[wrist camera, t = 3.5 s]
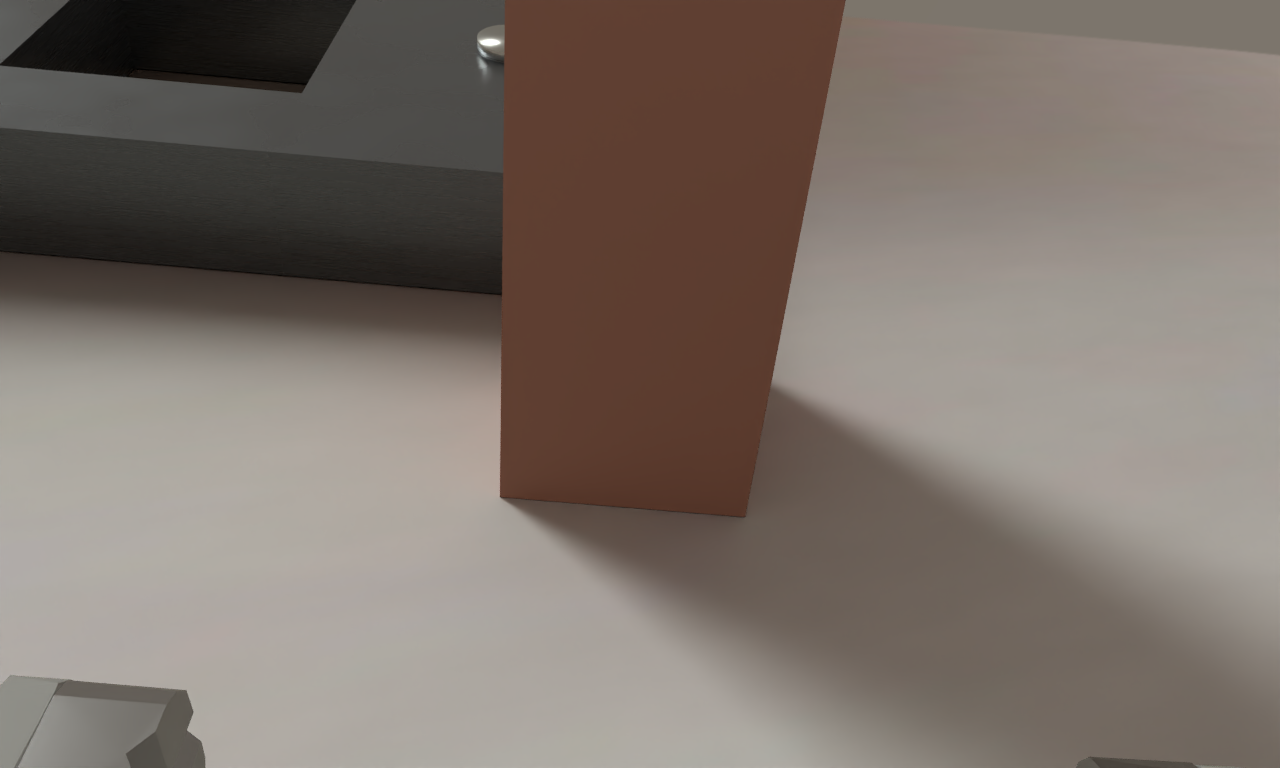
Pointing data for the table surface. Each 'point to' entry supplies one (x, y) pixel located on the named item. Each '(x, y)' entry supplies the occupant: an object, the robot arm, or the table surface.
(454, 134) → the block with square hole
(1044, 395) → the table surface
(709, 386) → the square peg
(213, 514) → the table surface
